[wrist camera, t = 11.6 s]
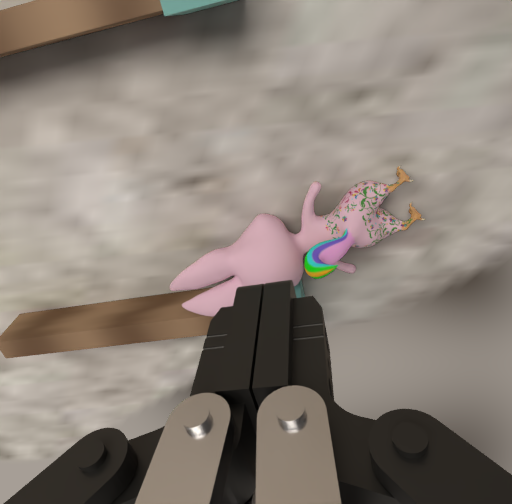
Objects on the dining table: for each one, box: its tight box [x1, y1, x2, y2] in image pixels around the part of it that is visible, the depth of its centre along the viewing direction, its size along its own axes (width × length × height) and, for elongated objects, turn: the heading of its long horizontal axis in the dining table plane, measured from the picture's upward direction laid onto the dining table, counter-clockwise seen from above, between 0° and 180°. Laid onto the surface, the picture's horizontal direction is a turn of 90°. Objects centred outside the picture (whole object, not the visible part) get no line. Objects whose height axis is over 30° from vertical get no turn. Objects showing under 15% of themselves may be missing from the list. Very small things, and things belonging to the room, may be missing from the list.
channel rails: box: [0, 0, 305, 358], centre depth 23 cm, size 21×20×4 cm
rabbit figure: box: [170, 166, 425, 316], centre depth 23 cm, size 6×6×15 cm
